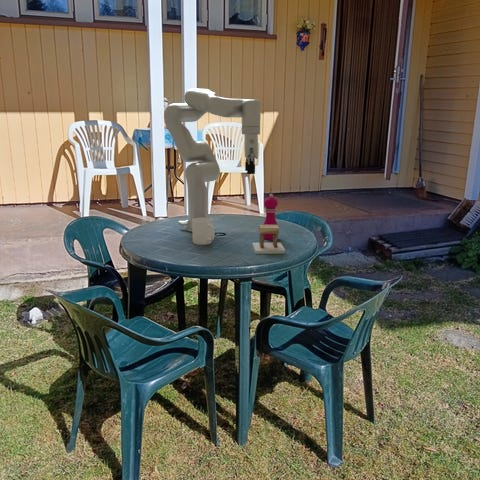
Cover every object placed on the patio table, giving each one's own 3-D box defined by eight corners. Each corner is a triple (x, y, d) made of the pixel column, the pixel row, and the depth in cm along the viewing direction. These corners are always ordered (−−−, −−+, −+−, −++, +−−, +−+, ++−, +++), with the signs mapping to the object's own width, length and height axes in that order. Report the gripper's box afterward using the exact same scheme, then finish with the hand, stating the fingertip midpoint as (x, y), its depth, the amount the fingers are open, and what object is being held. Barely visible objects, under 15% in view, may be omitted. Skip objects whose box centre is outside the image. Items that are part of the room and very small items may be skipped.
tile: (255, 253, 197) (255, 250, 196) (252, 245, 208) (252, 242, 208) (285, 253, 198) (285, 250, 197) (280, 245, 209) (280, 242, 209)
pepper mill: (276, 240, 216) (278, 195, 211) (260, 239, 218) (261, 194, 212) (278, 236, 223) (280, 192, 218) (263, 235, 224) (264, 192, 219)
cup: (203, 239, 218) (203, 216, 215) (221, 244, 209) (221, 221, 206) (188, 242, 212) (188, 219, 209) (206, 248, 204) (206, 224, 201)
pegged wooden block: (278, 247, 201) (278, 227, 198) (259, 248, 200) (260, 227, 198) (276, 244, 206) (277, 224, 203) (258, 244, 205) (259, 224, 203)
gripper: (262, 132, 194) (261, 175, 199) (257, 129, 211) (256, 169, 215) (243, 131, 194) (242, 175, 198) (240, 129, 210) (239, 169, 215)
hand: (249, 172), depth 207 cm, fingers open, 9 cm apart
